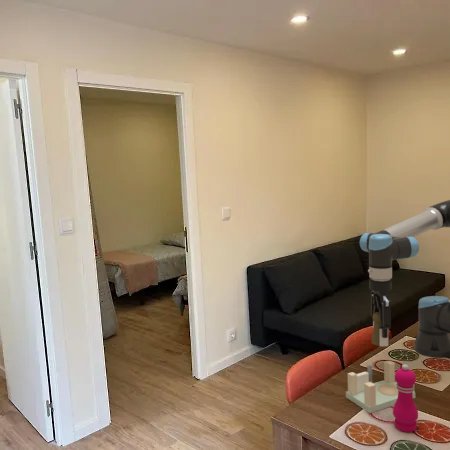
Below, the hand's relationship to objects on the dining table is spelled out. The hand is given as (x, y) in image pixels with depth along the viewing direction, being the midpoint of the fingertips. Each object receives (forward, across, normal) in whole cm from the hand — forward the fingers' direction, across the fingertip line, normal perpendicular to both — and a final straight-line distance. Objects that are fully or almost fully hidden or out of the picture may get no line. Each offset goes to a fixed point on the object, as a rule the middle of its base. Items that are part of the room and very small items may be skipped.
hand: (380, 342), depth 160 cm
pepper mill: (+18, +24, -1) cm, 30 cm away
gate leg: (+16, +5, -9) cm, 19 cm away
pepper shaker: (0, 0, 0) cm, 0 cm away
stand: (+18, +6, -2) cm, 19 cm away
